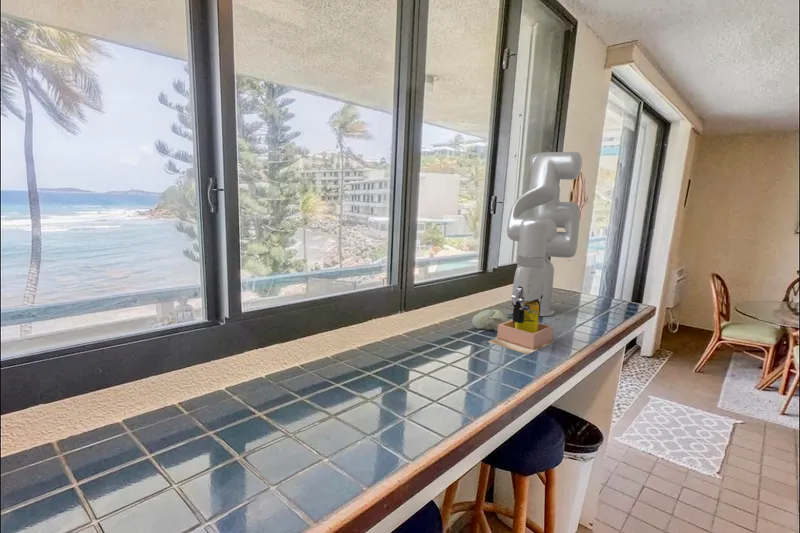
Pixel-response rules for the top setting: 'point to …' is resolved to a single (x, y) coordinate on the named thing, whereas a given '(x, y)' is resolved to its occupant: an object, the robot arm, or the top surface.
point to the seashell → (489, 319)
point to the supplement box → (529, 317)
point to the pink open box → (525, 335)
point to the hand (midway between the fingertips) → (526, 319)
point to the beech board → (515, 346)
